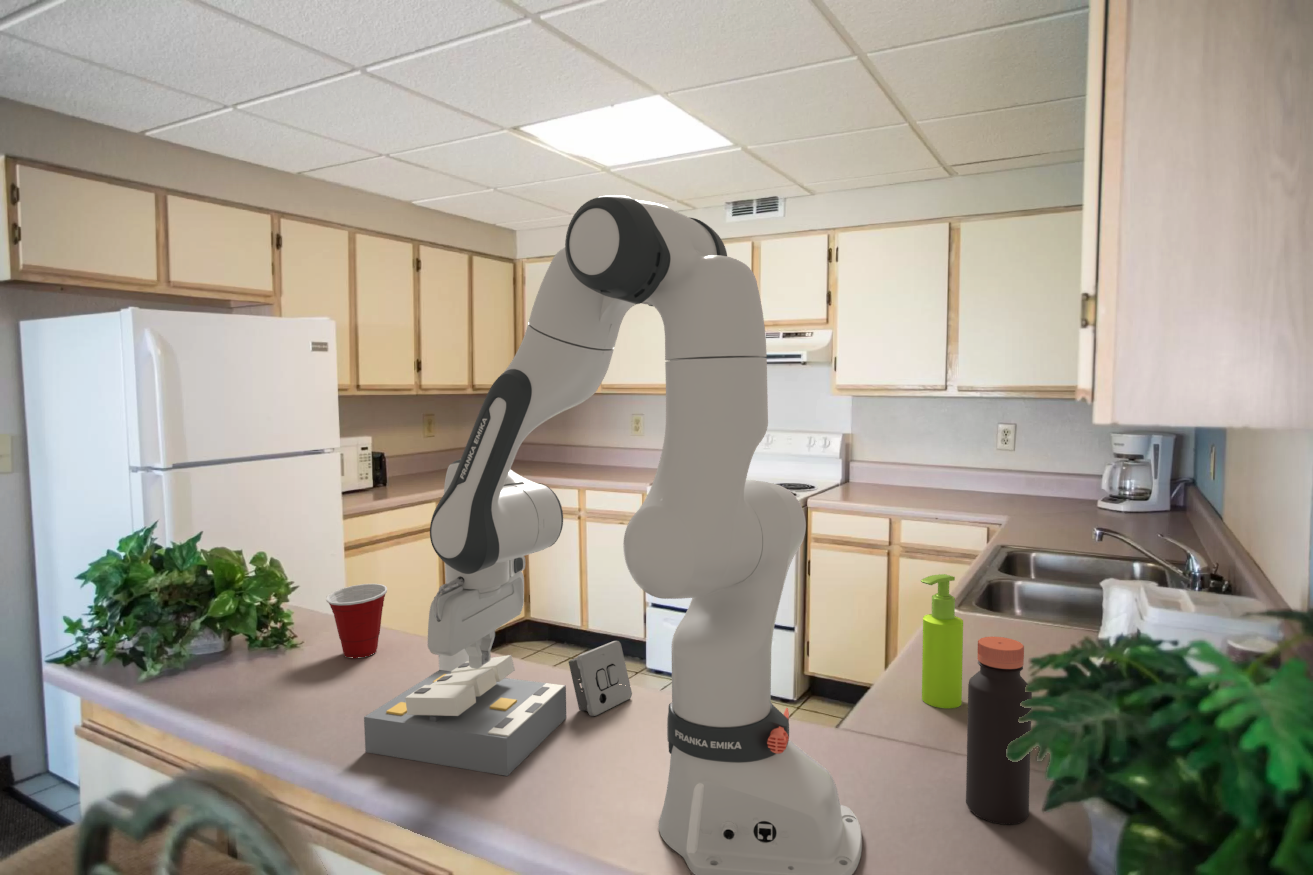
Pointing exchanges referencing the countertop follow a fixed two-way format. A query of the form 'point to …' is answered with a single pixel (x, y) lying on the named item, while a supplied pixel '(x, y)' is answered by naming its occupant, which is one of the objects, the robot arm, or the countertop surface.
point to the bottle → (997, 733)
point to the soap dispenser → (942, 648)
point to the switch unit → (470, 727)
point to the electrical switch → (600, 678)
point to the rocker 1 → (441, 700)
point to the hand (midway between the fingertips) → (479, 664)
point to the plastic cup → (358, 617)
